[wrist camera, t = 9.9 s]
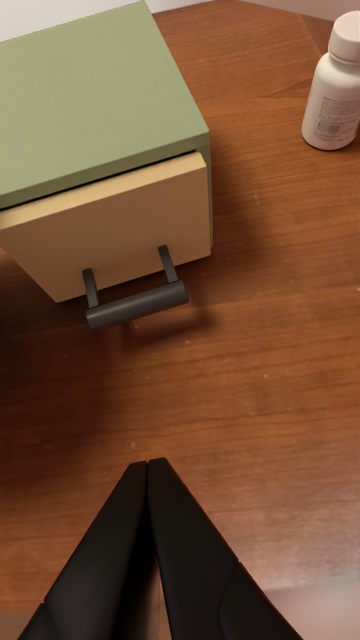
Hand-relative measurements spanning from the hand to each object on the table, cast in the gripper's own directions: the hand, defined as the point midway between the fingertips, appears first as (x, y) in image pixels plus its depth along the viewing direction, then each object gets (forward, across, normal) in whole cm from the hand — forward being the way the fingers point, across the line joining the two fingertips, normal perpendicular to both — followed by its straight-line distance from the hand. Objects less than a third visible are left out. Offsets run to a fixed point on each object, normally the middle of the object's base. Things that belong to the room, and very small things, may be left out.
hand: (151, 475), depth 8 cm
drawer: (+20, +1, -5) cm, 21 cm away
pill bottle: (+24, -17, -10) cm, 32 cm away
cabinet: (+23, +1, -7) cm, 25 cm away
